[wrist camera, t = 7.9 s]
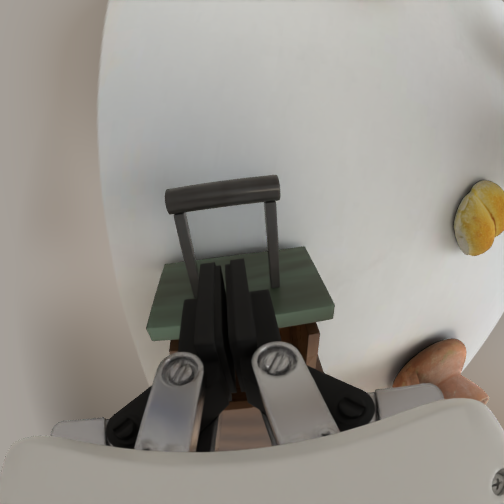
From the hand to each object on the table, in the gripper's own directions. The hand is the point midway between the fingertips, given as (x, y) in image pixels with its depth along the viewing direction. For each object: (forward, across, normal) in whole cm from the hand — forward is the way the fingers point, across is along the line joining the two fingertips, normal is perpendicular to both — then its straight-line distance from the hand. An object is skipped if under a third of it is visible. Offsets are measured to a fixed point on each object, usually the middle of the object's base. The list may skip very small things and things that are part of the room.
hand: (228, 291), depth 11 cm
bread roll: (+11, -28, +4) cm, 30 cm away
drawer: (+10, 0, +8) cm, 12 cm away
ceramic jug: (+11, -28, +30) cm, 42 cm away
